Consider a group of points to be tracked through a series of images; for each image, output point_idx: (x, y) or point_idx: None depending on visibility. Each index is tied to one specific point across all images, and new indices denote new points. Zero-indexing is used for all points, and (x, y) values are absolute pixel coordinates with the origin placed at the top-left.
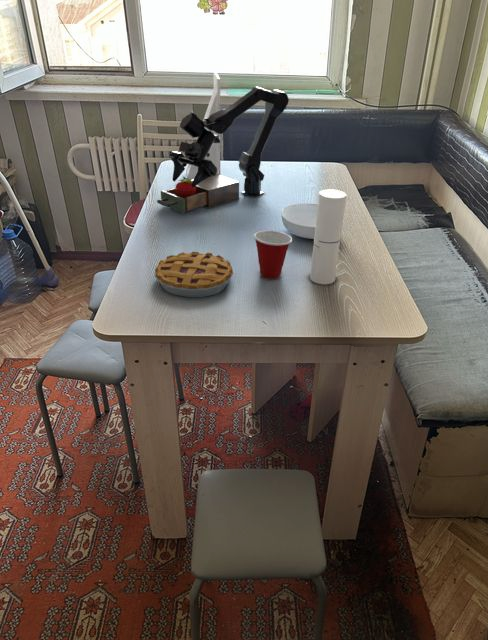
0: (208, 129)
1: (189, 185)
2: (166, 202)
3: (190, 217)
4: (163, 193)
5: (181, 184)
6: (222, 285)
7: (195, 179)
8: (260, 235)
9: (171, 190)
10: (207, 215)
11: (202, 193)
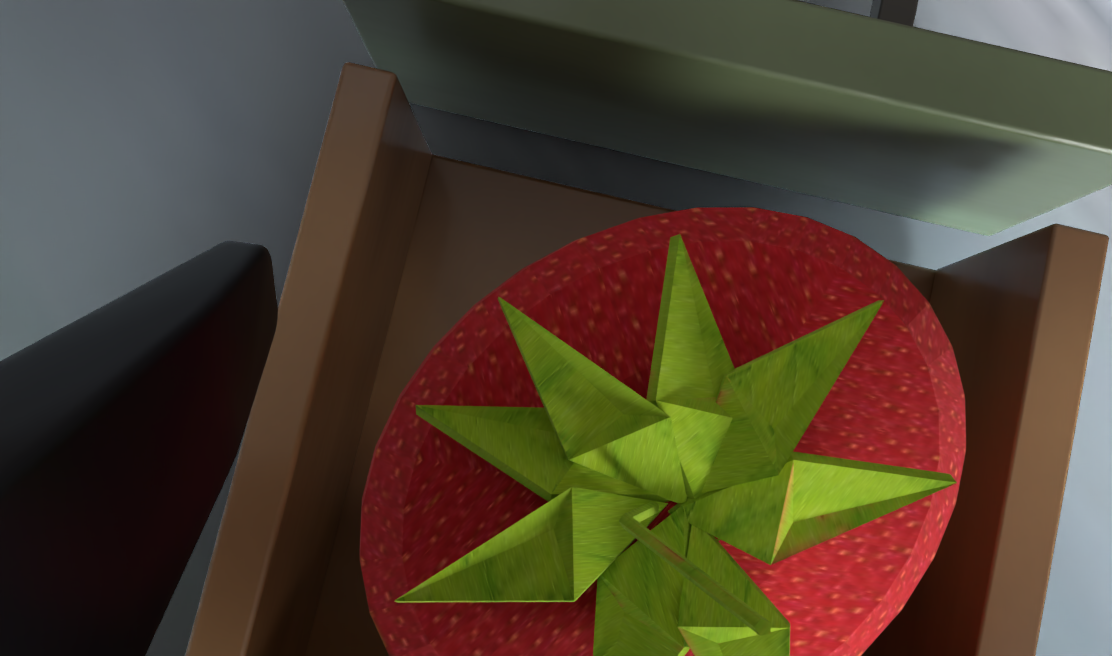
0: None
1: (453, 383)
2: None
3: (263, 67)
4: (1049, 74)
5: (699, 259)
6: None
7: (44, 351)
8: None
9: (1024, 339)
10: (64, 313)
11: (202, 603)
